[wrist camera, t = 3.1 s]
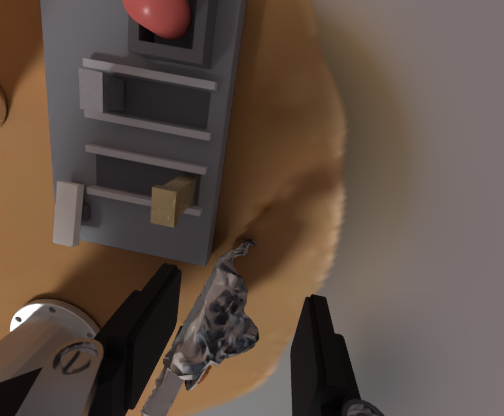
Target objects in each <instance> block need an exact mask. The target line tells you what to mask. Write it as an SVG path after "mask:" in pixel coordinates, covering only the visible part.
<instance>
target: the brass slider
mask: <svg viewBox="0 0 504 416" xmlns="http://www.w3.org/2000/svg"><path fill="white" fill-rule="evenodd" d="M196 179H197V177H192V176H187V175H180V176H178V177H177V178H175V179H173V180H172V181H170V182H168V183H166V184H165V185H163V186H162V185H155V186H153V187H152V201H151V220H150V223H154V224H159V225H164V226H168V227H173V228H174V227H175V226H176V225H177V223H178V217H179V216H180V215H181V214H182V213H184V212H185V211H186V210H187V209H188V208H189V207H190V206H191V205H192V204H193V203H194V198H195V189H196Z"/></svg>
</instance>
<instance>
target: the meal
mask: <svg viewBox="0 0 504 416" xmlns="http://www.w3.org/2000/svg"><path fill="white" fill-rule="evenodd" d="M243 240H244V242H245V243H244V244H243V243H242V244H241V245H240V246H239V247H238V248H237V249H235V250H229V251H228V252H226V253H225V254H224V255H222V256H219V258H218V261H217V263H216V265H215V267H214V269H213V272H212V274H211V276H210V277H209V278H208V280H207V281H206V283H205V286H204V288H203V290H202V292H201V294H200V296H199V297H198V298H197V300H196V302H195V304H194V307H193V308H192V310H191V311H190V313H189V315H188V317H187V319H186V320H185V322H184V325H183V326H180V328H179V330H178V333H177V335H176V337H175V340H174V342H173V344H172V347H171V349H170V350H169V352H168V353H167V354H166V355H165V358H164V359H163V364H164V366H165V367H164V368H163V370H162V372H161V374H160V376H159V377H158V379H156V381H155V390H153V391H152V394H151V395H150V396H149V398H148V400H147V402H146V404H145V406H144V407H143V409H142V410H141V412H142V414H144V415H143V416H166V414H167V413H168V411H169V409H170V407H171V405H172V403H173V402H174V400H175V398H176V396H177V394H178V392H179V390H180V388H181V386H182V384H183V382H184V380H185V386H186V390H188V391H189V390H192V389H193V388H194V387H195V386H196V385H197V384H199V383H200V382H202V381H203V380H204V379H205V377H206V376H207V375H208V372H209V370H210V369H211V365H212V364H215V365H216V366H218V365H219V364H220V363H221V362H222V361H223V360H224V359H226V358H230V357H233V356H236V355H238V354H241V353H244V352H246V351H248V350H250V349H251V348H253V347H254V346H255V343H256V342H257V341H258V340H259V334H258V328H257V326H255V325H254V323H253V321H252V320H251V319H250V318H249V317H248V316H247V315H246V314H245V312H244V307H245V305H246V302H247V293H248V290H247V288H246V285H245V283H244V280H243V278H242V276H240V275H238V274H237V273H236V270H235V268H234V261H233V259H234V258H236V256H240V255H243V256H245V254H247V253H248V252H247V251H248V248H249V246H255V245H257V241H255V240H251V239H243ZM239 241H240V240H239ZM237 242H238V241H236V242H234V243H232V244H230V245H233V244H235V243H237ZM228 356H230V357H228Z"/></svg>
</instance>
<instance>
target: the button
mask: <svg viewBox="0 0 504 416" xmlns="http://www.w3.org/2000/svg"><path fill="white" fill-rule="evenodd" d="M122 1H123V4H124V7H125V9H126V11H127V12H128V14H129V15H130V16H131V17H132V18H133V19H134V20H135V21H136V22H138V23H139V24H141V25H142V26H144V27H145V28H147V29H149V30H150V31H152V32H153V33H155V34H156V35H158V36H159V37H161V38H163V39H165V40H169V41H174V40H178V39H180V38H182V37H183V36H184V35H185V34H186V33H187V32H188V30H189V28H190V26H191V22H192V11H191V6H190V4H189V1H188V0H122Z"/></svg>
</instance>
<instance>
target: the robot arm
mask: <svg viewBox="0 0 504 416" xmlns="http://www.w3.org/2000/svg"><path fill="white" fill-rule="evenodd" d="M181 274H182V271H181V270H178V266H177V265H172V264H167V263H164V264H163V265H162V266H161V267H160V268H159V269H158V271H157V272H156V273H155V274H154V276H153V277H152V278H151V279H150V281H149V282H148V283H147V284H146V286H145V287H144V288H143V289H142V291H137V290H135V291H133V292H132V293H131V294H130V296H129V297H128V298H127V299H126V300H125V301H124V303H123V304H122V305H121V306H120V307H119V309H118V310H117V311H116V312H115V313H114V314H113V316H112V317H111V318H110V319H109V320H108V322H107V323H106V324H105V325H104V326H103V327H102V329H101V330H100V329H99V328H98V326H97V325H96V323H95V322H94V321H93V320H92V319H91V318H90V317H89V316H88V315H87V314H85V313H84V312H83V311H82V310H80V309H78V308H77V307H75V306H73V305H71V304H68V303H66V302H63V301H59V300H55V299H38V300H34V301H31V302H29V303H28V304H26V305H24V306H23V307H22V308H20V309H19V310H18V311H17V312H16V313H15V314H14V316H13V318H12V321H11V327H10V331H11V332H10V333H9V334H8V335H6V336H5V337H4V338H3V339H1V340H0V416H125V415H126V413H127V411H128V409H131V410H133V409H134V408H135V406H136V404H137V402H138V400H139V398H140V396H141V395H142V393H143V391H144V389H145V387H146V385H147V383H148V381H149V379H150V377H151V375H152V373H153V371H154V369H155V367H156V365H157V363H158V361H159V359H160V357H161V355H162V353H163V351H164V349H165V347H166V345H167V343H168V341H169V339H170V337H171V335H172V333H173V331H174V329H175V326H176V322H177V314H178V304H179V294H180V284H181ZM290 358H291V387H292V416H384V414H383V413H382V412H381V411H380V410H378V408H376V407H375V406H373V405H372V404H370V403H369V402H367V401H364V400H361V398H360V394H359V391H358V387H357V383H356V380H355V376H354V372H353V369H352V365H351V361H350V358H349V354H348V351H347V347H346V343H345V340H344V337H343V336H342V335H340V334H335V333H334V329H333V325H332V320H331V316H330V313H329V308H328V304H327V299H326V297H323V296H318V295H314V294H312V295H311V296H310V297H306V298H305V301H304V305H303V308H302V312H301V315H300V318H299V322H298V325H297V329H296V332H295V336H294V339H293V343H292V346H291V355H290Z"/></svg>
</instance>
